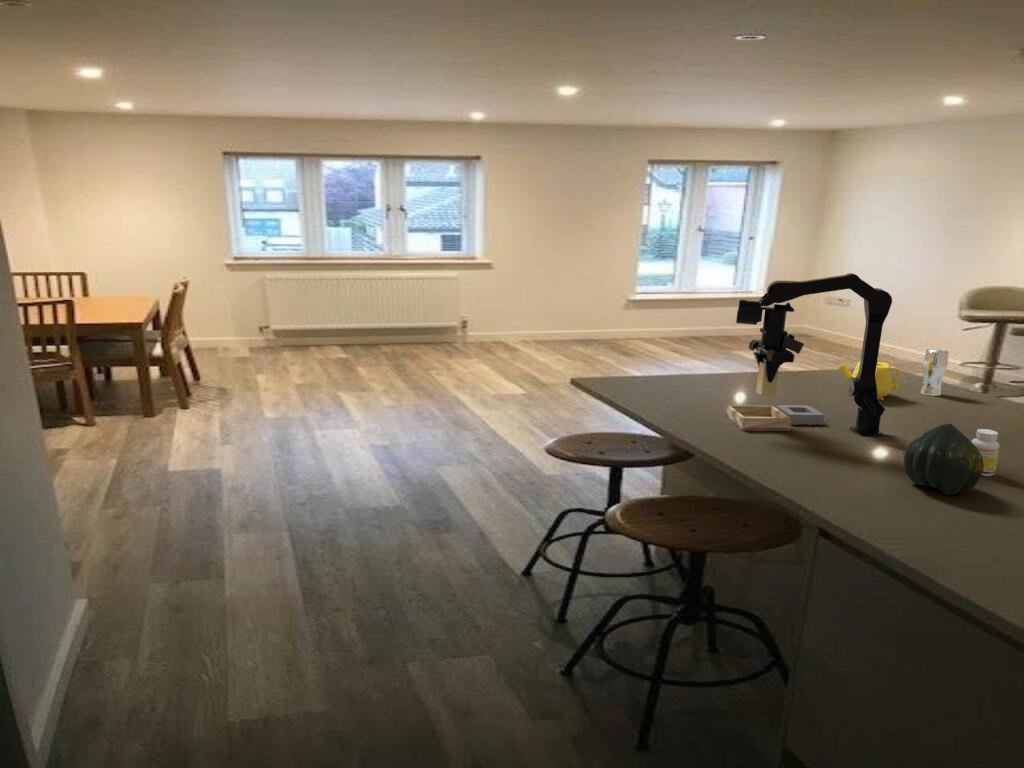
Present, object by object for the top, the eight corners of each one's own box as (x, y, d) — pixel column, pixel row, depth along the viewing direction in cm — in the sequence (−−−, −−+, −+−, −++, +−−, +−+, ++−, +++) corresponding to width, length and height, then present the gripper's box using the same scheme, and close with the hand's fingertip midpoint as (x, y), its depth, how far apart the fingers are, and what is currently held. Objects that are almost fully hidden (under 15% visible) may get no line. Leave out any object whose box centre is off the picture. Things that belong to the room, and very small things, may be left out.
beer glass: (914, 392, 244) (921, 349, 240) (927, 390, 247) (934, 348, 243) (933, 397, 238) (940, 353, 234) (946, 395, 240) (954, 352, 237)
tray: (790, 430, 198) (791, 418, 197) (742, 430, 197) (743, 418, 196) (770, 416, 211) (772, 405, 210) (725, 416, 210) (726, 405, 210)
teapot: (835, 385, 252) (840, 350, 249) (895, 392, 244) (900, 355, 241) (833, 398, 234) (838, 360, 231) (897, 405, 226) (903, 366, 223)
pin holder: (823, 424, 204) (824, 414, 203) (789, 424, 204) (790, 414, 203) (807, 415, 214) (808, 405, 213) (775, 414, 213) (776, 405, 212)
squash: (933, 479, 148) (979, 424, 148) (879, 458, 162) (921, 408, 162) (968, 517, 152) (1011, 464, 153) (912, 493, 166) (952, 444, 167)
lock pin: (774, 395, 201) (778, 365, 199) (761, 395, 201) (764, 364, 199) (769, 392, 205) (773, 362, 203) (756, 391, 205) (759, 361, 203)
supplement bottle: (967, 466, 172) (975, 426, 169) (995, 472, 168) (1003, 431, 166) (964, 472, 167) (971, 431, 165) (992, 478, 164) (1000, 436, 162)
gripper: (816, 332, 189) (808, 389, 193) (788, 321, 208) (782, 373, 211) (775, 331, 189) (768, 388, 193) (751, 320, 207) (745, 372, 211)
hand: (767, 380), depth 202 cm, fingers closed on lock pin, 4 cm apart
